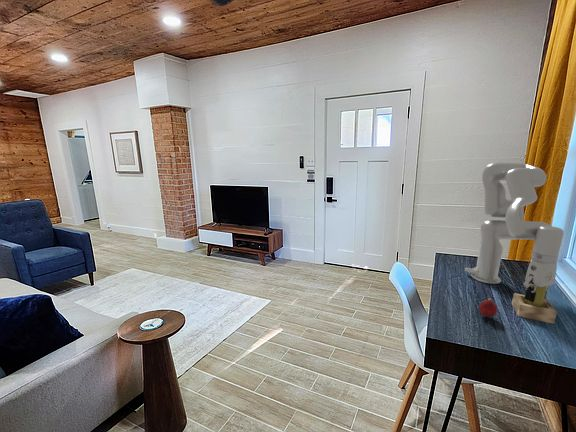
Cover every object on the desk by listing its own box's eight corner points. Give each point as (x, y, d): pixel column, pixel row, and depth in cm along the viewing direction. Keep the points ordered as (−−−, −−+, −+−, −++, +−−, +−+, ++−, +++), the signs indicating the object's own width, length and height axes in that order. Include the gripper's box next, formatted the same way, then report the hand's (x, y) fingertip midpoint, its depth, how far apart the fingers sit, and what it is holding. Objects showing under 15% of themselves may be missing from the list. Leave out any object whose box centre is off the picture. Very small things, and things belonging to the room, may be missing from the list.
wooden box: (518, 315, 111) (520, 303, 110) (511, 303, 121) (514, 292, 119) (554, 323, 106) (557, 311, 105) (544, 310, 116) (547, 298, 114)
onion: (496, 323, 106) (499, 304, 104) (478, 318, 109) (481, 299, 107) (494, 315, 111) (498, 297, 109) (477, 311, 114) (480, 293, 112)
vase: (528, 305, 117) (535, 273, 114) (545, 312, 111) (553, 280, 108) (519, 307, 115) (526, 275, 112) (536, 315, 109) (544, 282, 106)
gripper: (540, 263, 102) (529, 307, 106) (570, 258, 107) (559, 301, 111) (518, 256, 109) (509, 297, 113) (547, 252, 114) (538, 292, 118)
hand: (534, 298), depth 112 cm, fingers closed on vase, 5 cm apart
